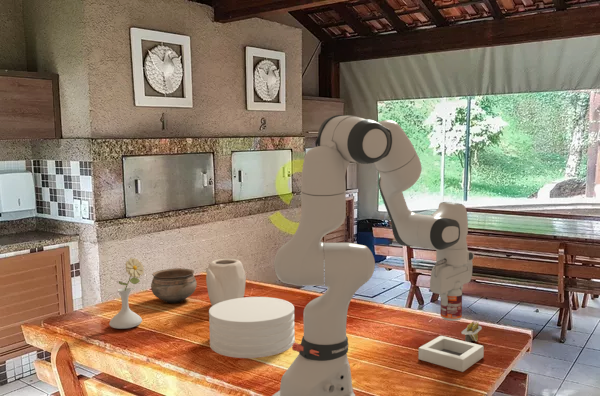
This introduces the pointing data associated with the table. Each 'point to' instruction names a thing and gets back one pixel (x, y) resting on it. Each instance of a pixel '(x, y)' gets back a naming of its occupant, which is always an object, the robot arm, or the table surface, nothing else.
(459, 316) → the pill bottle
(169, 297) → the cooking pot
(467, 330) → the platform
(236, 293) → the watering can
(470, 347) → the holder block
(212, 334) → the plate stack
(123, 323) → the flower in vase
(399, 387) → the table surface
